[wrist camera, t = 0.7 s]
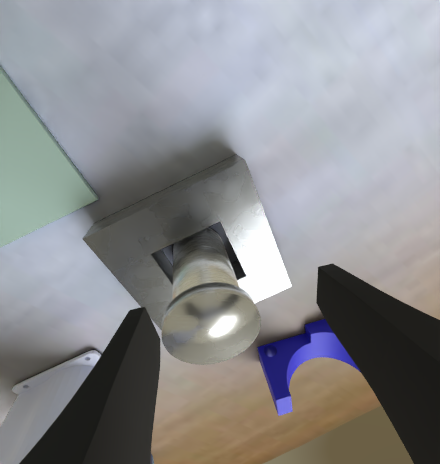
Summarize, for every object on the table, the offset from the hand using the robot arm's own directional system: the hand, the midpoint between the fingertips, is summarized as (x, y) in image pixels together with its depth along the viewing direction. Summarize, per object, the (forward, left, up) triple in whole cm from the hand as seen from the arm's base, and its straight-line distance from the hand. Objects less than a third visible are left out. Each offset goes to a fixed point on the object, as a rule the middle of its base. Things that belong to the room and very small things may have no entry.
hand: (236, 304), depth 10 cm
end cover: (-2, -3, -11) cm, 11 cm away
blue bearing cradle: (+4, -20, -11) cm, 23 cm away
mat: (-11, +9, -11) cm, 18 cm away
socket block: (-2, -3, -11) cm, 11 cm away
